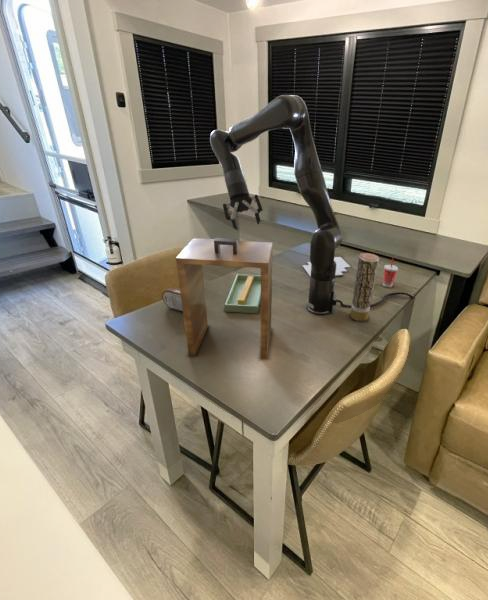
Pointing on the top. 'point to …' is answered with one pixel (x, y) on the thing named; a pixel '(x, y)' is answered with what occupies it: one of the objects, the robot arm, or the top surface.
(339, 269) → the paper stack
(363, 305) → the bark covered firewood piece
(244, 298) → the rod
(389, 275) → the beverage cup
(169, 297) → the tin
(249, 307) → the tray
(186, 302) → the shelf stand
